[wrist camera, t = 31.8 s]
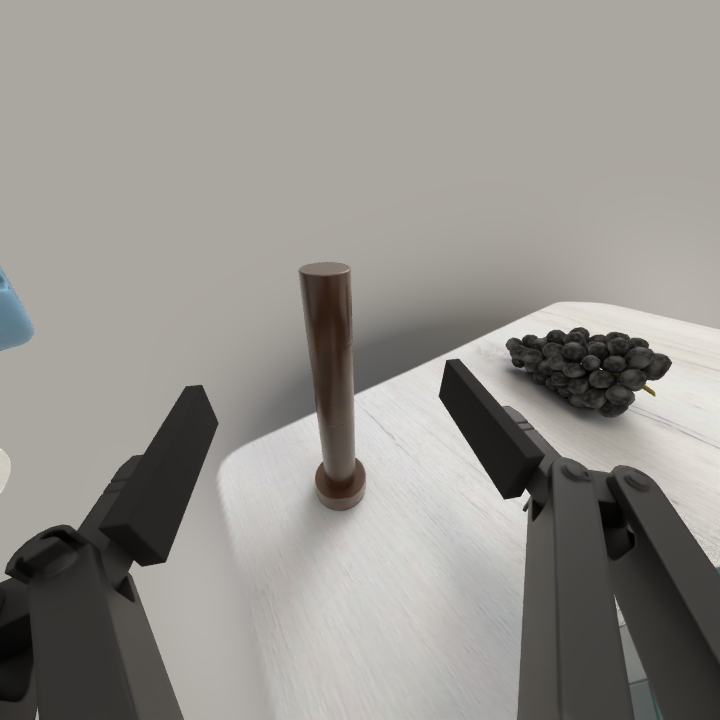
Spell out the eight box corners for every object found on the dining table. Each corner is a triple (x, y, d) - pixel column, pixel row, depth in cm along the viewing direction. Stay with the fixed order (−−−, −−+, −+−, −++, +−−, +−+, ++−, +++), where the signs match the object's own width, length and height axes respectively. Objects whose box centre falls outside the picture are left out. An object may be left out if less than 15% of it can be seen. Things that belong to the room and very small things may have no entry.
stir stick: (311, 508, 20) (265, 279, 10) (322, 462, 23) (295, 257, 14) (363, 512, 20) (365, 281, 10) (366, 466, 23) (370, 258, 13)
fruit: (511, 299, 32) (687, 352, 21) (540, 307, 37) (696, 354, 25) (480, 362, 35) (618, 437, 24) (511, 362, 40) (638, 425, 29)
